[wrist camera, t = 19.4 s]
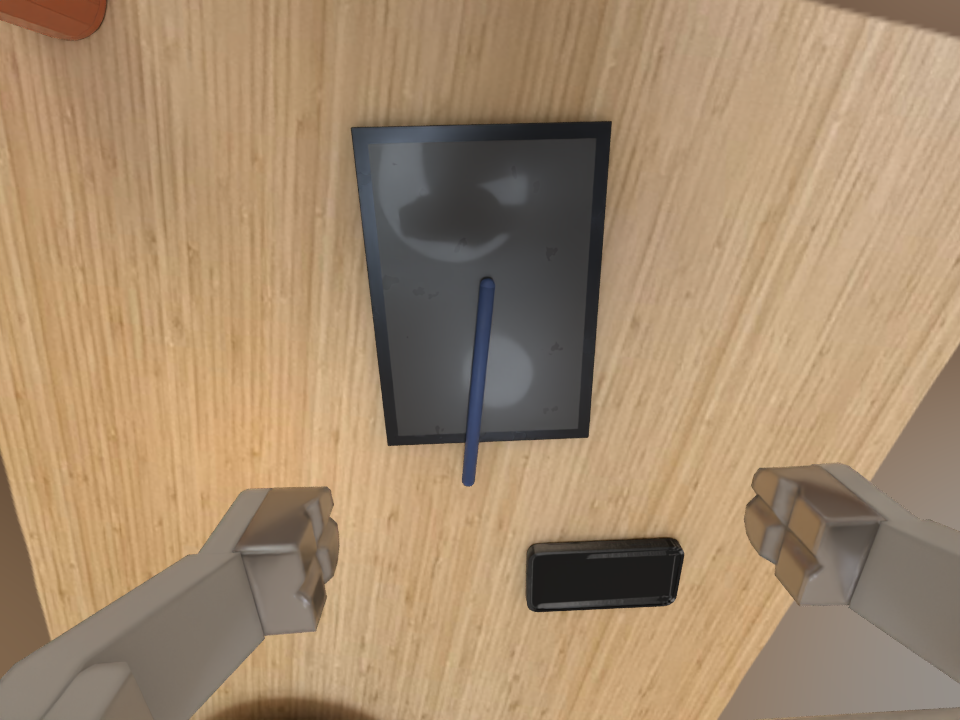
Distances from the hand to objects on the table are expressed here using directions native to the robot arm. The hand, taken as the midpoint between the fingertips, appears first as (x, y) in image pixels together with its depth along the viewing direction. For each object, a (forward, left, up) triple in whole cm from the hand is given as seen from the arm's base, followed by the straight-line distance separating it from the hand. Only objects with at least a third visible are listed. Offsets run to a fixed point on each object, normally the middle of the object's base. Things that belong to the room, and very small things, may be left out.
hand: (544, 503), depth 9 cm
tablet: (+3, 0, -27) cm, 27 cm away
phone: (+31, +11, -27) cm, 43 cm away
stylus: (+10, -1, -26) cm, 28 cm away
